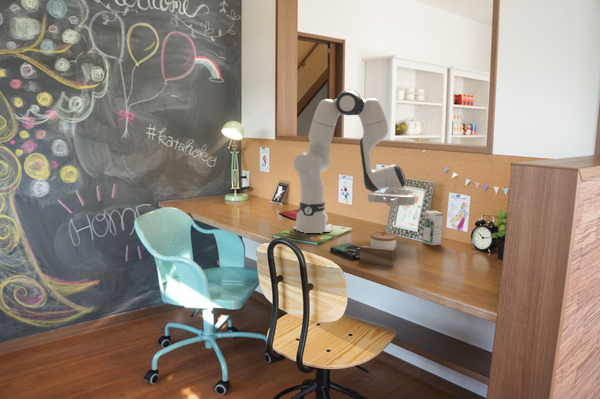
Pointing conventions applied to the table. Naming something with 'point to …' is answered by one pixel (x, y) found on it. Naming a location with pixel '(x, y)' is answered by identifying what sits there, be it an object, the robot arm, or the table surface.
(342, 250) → the disk drive
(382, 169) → the robot arm
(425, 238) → the syrup box
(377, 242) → the lidded jar
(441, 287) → the table surface
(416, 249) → the table surface
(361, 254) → the walnut board
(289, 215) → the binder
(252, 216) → the table surface
